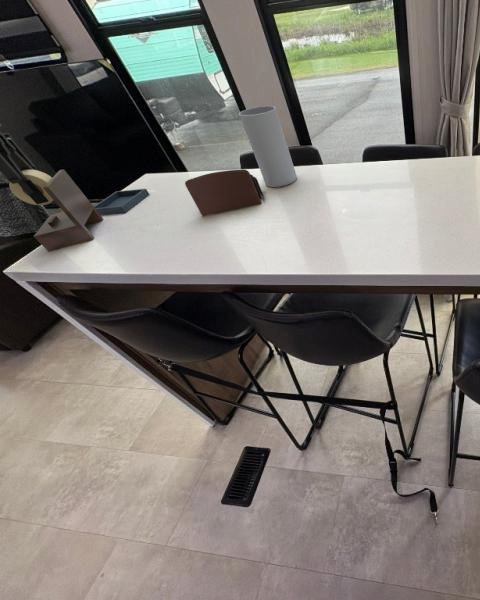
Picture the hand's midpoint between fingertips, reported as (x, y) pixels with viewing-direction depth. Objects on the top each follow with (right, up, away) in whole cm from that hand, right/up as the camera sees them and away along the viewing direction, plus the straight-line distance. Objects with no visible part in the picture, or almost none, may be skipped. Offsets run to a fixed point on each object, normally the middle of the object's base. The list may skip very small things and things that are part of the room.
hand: (45, 199), depth 97 cm
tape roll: (0, +3, -2) cm, 4 cm away
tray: (-1, +7, +28) cm, 29 cm away
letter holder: (+49, +2, +16) cm, 52 cm away
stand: (+1, -10, +10) cm, 14 cm away
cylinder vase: (+60, +17, +31) cm, 70 cm away
